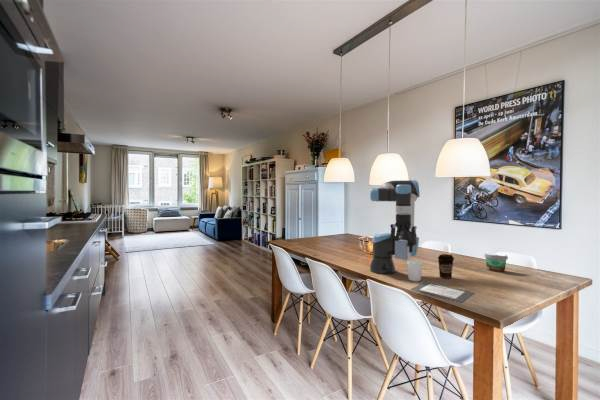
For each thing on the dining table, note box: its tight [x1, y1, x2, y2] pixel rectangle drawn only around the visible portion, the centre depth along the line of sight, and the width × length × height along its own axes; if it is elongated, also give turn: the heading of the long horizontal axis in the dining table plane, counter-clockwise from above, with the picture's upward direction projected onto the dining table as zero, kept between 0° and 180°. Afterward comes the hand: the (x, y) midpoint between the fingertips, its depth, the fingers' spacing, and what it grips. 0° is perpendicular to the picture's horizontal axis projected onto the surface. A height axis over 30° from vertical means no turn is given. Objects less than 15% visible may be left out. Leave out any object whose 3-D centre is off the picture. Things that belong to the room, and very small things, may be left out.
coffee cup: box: [437, 253, 455, 280], centre depth 167 cm, size 9×8×13 cm
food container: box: [483, 253, 509, 273], centre depth 179 cm, size 12×6×10 cm, turn 68°
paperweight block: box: [394, 240, 409, 261], centre depth 154 cm, size 6×6×9 cm
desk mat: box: [410, 281, 475, 304], centre depth 145 cm, size 24×18×1 cm
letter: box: [420, 284, 464, 299], centre depth 145 cm, size 17×13×1 cm
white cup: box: [406, 259, 423, 282], centre depth 164 cm, size 8×8×10 cm
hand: (402, 257), depth 154 cm, fingers closed on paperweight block, 6 cm apart
